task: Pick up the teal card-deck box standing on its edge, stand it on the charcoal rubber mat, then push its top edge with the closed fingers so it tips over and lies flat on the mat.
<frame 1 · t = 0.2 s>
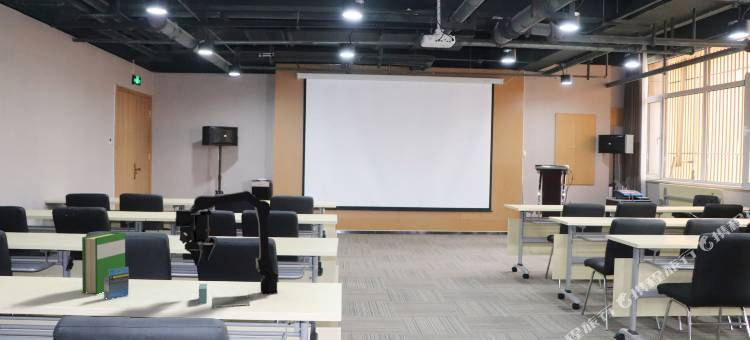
hand: (201, 263, 246), 14 cm above the table, tool pointing down, fingers open, 9 cm apart
mat: (231, 301, 239), on the table
label tape box: (116, 297, 245), on the table
deck: (202, 300, 240), on the table
hardback book: (104, 290, 257), on the table
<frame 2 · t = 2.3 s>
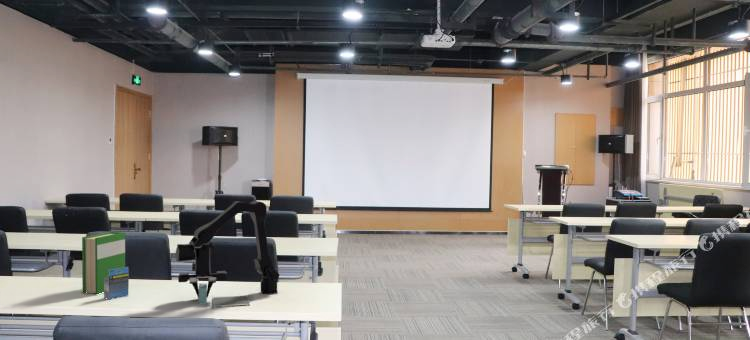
hand: (202, 297, 240), 1 cm above the table, tool pointing down, fingers closed on deck, 3 cm apart
deck: (202, 300, 240), on the table, touching gripper
everything else where it was.
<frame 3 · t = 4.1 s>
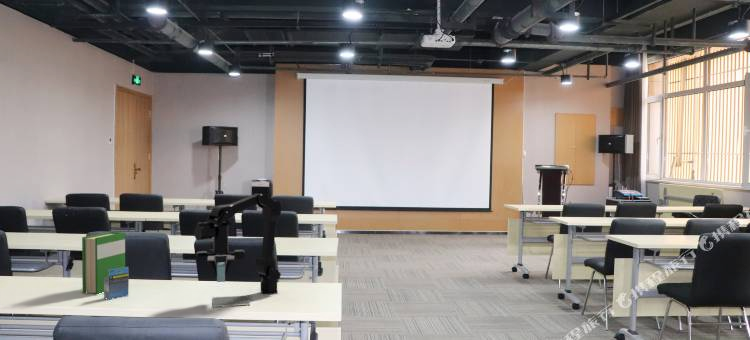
hand: (220, 276, 238), 11 cm above the table, tool pointing down, fingers closed on deck, 3 cm apart
deck: (220, 279, 238), point 9 cm above the table, touching gripper
everything else where it was.
when the fingers open (3 cm above the table, at t = 5.7 s): deck stays where it is, resting on mat.
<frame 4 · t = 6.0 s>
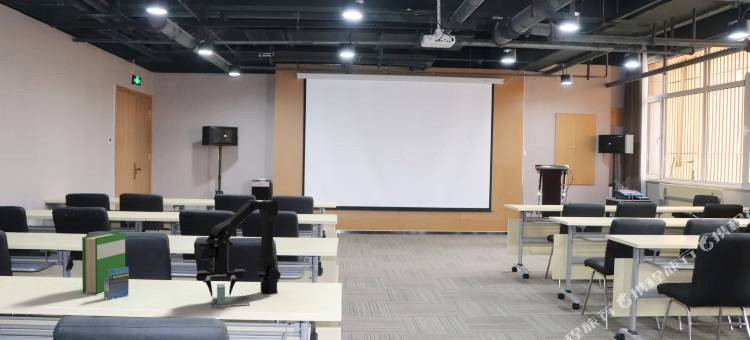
hand: (220, 295, 238), 3 cm above the table, tool pointing down, fingers open, 7 cm apart
deck: (220, 301, 238), resting on mat
everything else where it was.
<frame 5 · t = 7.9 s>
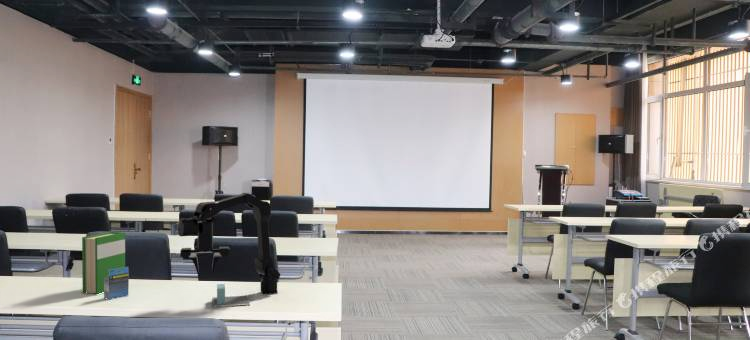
hand: (205, 273, 236), 12 cm above the table, tool pointing down, fingers open, 5 cm apart
nothing on the table moved.
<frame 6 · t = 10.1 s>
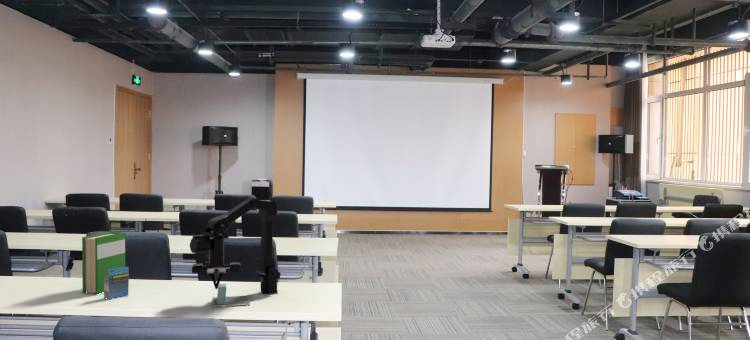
hand: (216, 288, 237), 5 cm above the table, tool pointing down, fingers closed
deck: (221, 301, 238), point 1 cm above the table, tilted 5°, touching gripper, mat
everything else where it was.
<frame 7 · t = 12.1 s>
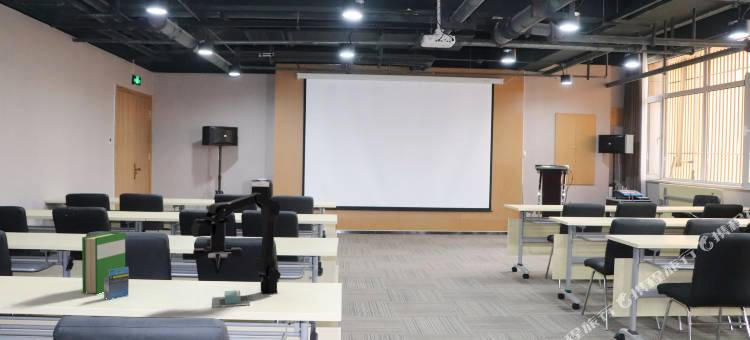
hand: (217, 273, 237), 12 cm above the table, tool pointing down, fingers closed
deck: (224, 297, 238), point 2 cm above the table, tilted 90°, touching mat
everything else where it was.
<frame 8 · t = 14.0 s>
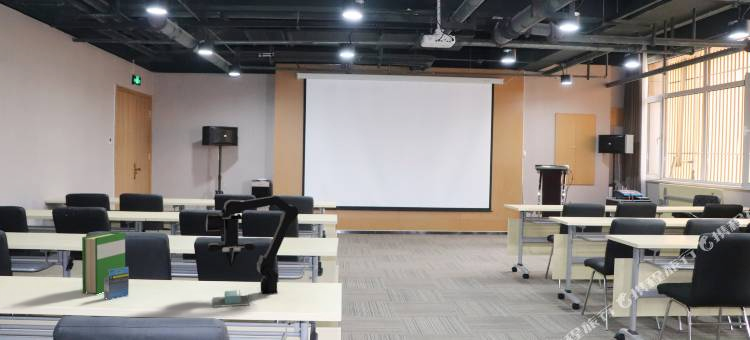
hand: (231, 267, 249), 12 cm above the table, tool pointing down, fingers closed
nothing on the table moved.
at the end: deck tilted 90°; deck 2.4 cm from the mat (horizontally); the gripper is holding nothing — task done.
